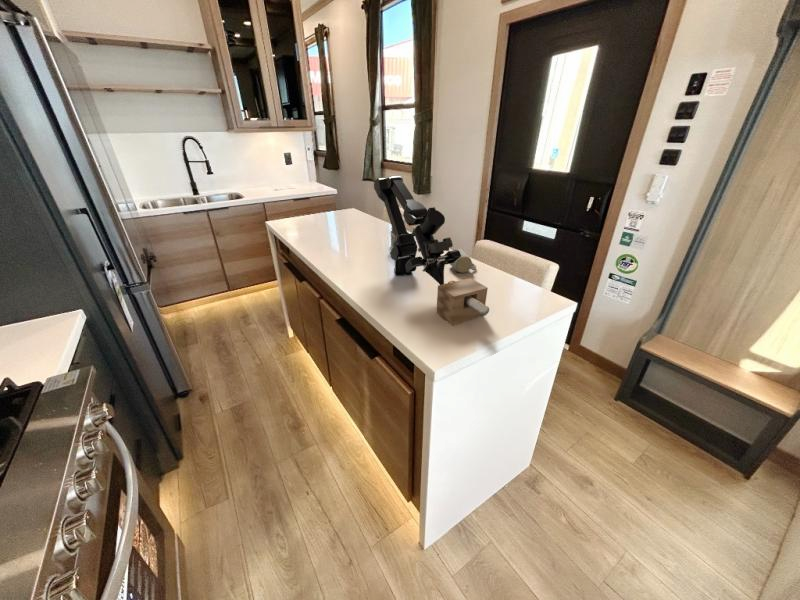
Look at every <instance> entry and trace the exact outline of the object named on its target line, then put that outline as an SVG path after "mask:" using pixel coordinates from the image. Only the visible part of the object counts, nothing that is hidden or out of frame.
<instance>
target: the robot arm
mask: <svg viewBox="0 0 800 600" xmlns="http://www.w3.org/2000/svg"><path fill="white" fill-rule="evenodd" d="M403 179H404V178H403V177H402V176H400V175H394V176H393V175H392V176H389V177H380V178H379V177H378V178H376V180H375V181H374V183H373V189H374V191H375V194H376V195H377V197H378V199H380V200H381V202H383V203H384V207H385V210H386V212H387V215H388V219H389V222H390V224H391V228H392V229H393V232H394V235H395V238H394V242H393V246H394V247H393V249H392V250H390V258H391V259H392V260H393V261H394V268H393V270H394V274H395V276H397V277H399V276H412V275H413V272H416V270H417V267H423V269H422V272H425V273H427V275H429V276H430V277H431V278H432V279H433V280H435V282H436V283H438V284H439V285H442V284H445V267H446V265H447V266H448V265H450V264H451V263H454V262H455V261H456V260H458V259H459V258H460V257H461V254H460V251H458V250H456V249H452V250H450V248H452V247H453V245H454V244H453V240H452V239H451V237H445V238H443V239H442V241H439V240H438V239H437V238H436V239H435V237H434V235H435V234H436V233H437V232H438V231H439V230H440V229H441V228H442V226H443V225H444V224H445V223H446V222H445V221H446V218H445V214H443V213H442V212H441V211H439V210H437V209H436V207H435V206H433V207H429V208H428V209H427V208H426V207H425V206H424V204H423V203H421V202H419V201H417V200H416V199H415V198H414V196H413V195H412V194H411V192H410V190H409V188H407V186H406V185H405V183H404V180H403ZM400 206H401V208H402V209H403V215H402V212H401V210H400V209H401V208H400ZM402 217H404V218H405V221H406V222H404V221H403V218H402ZM405 223H406V224H407V226H409V227H410V226H416V227H414V228H412V231H411V232H408V231H407V229H406V228H407V227H406V224H405ZM392 229H391V230H392ZM445 252H446V253H445ZM417 253H420V254H421V256H417ZM444 253H445V254H444Z"/></svg>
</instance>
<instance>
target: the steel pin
mask: <svg viewBox="0 0 800 600" xmlns="http://www.w3.org/2000/svg"><path fill="white" fill-rule="evenodd" d="M455 281H456V280H449V281H448V282H447V283H451V282H455ZM464 303H465V304H466V305H468V306H469V307H471V308H472V309H474V310H475V311H476V312H478V313H479V314H481V315H482V316H481V317H485V316H487V315H488V314H489V312H490V307H489V306H487V305H486V304H485V305H484V304H483V303H481V302H480V301H478V300H476V299H475V298H473V297H472V296H466V297H464Z"/></svg>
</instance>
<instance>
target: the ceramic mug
mask: <svg viewBox="0 0 800 600" xmlns="http://www.w3.org/2000/svg"><path fill="white" fill-rule="evenodd" d="M455 250H458V251H460V254H461V257H460V258H459V259H458V260H456V261H455V262H454V263H451V264H449V265H450V266H451V267H452V268H453V269H454V270H455V271H456V272H458V273H461V274H464V273H467V272H469V270H472V271H475V270H476V269H477V265H476V264H475V263H473V261H472V258H470V256H469V254H467V253H466V252H465V251H464V250H463V249H460V248H457V249H455Z"/></svg>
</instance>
